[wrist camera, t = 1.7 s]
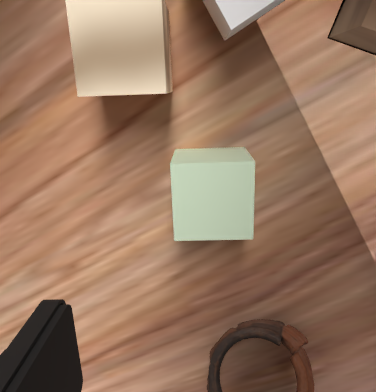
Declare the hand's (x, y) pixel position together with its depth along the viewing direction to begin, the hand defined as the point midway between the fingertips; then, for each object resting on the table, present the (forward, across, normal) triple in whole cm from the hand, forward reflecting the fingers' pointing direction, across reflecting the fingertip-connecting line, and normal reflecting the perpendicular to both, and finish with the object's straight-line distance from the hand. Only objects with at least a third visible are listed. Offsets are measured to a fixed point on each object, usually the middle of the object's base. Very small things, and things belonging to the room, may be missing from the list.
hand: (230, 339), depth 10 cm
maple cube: (+17, +5, -9) cm, 20 cm away
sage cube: (+17, 0, 0) cm, 17 cm away
